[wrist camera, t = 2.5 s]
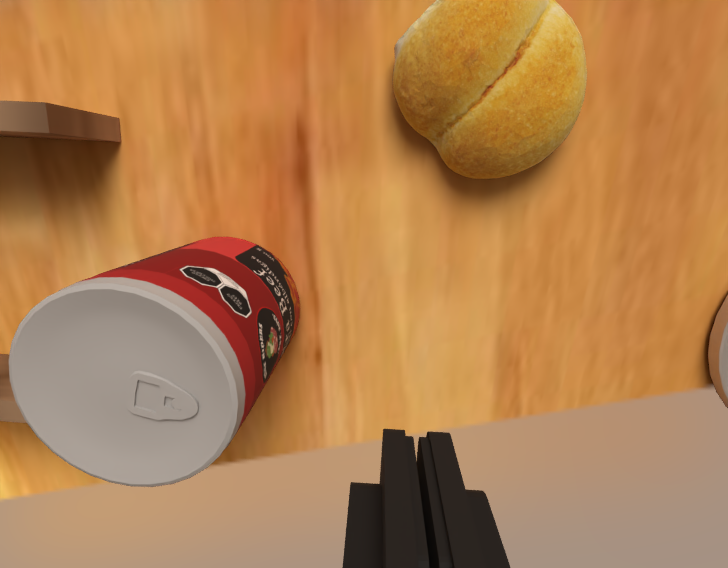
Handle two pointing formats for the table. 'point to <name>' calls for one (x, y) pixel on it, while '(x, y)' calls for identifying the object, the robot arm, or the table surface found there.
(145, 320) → the canned food
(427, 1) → the table surface
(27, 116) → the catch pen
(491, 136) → the bread roll
